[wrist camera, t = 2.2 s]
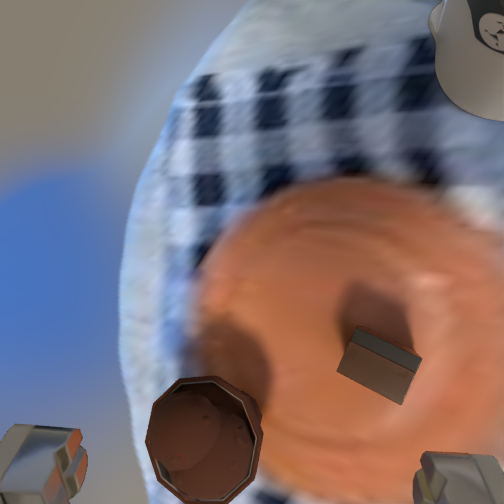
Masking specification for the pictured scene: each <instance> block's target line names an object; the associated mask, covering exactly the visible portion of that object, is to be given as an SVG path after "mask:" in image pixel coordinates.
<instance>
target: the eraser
mask: <svg viewBox="0 0 504 504" xmlns="http://www.w3.org/2000/svg"><path fill="white" fill-rule="evenodd" d="M421 361H422V358H421V357H420V356H419V355H418V354H417V353H416V352H415V351H414V350H412V349H410V348H408V347H406V346H404V345H402V344H400V343H397V342H395V341H393V340H391V339H389V338H387V337H385V336H383V335H381V334H378V333H376V332H374V331H372V330H370V329H368V328H366V327H364V326H361V327H357V328H356V329H355V331H354V333H353V335H352V338H351V341H350V342H349V344H348V346H347V349H346V351H345V353H344V355H343V357H342V360H341V362H340V364H339V366H338V369H337V372H338V373H340V374H342V375H344V376H346V377H348V378H350V379H352V380H354V381H355V382H357V383H359V384H361V385H363V386H365V387H367V388H369V389H371V390H373V391H375V392H377V393H378V394H380V395H382V396H384V397H386V398H388V399H390V400H392V401H394V402H396V403H398V404H399V405H402V403H403V401H404V399H405V396H406V394H407V392H408V390H409V388H410V385H411V383H412V381H413V379H414V376H415V374H416V372H417V370H418V368H419V365H420V363H421Z"/></svg>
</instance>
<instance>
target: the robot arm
mask: <svg viewBox="0 0 504 504" xmlns="http://www.w3.org/2000/svg"><path fill="white" fill-rule="evenodd" d="M429 27H430V30H431V33H432V35H433V37H434V39H435V42H436V53H435V70H436V75H437V78H438V81H439V83H440V86H441V87H442V89H443V91H444V92H445V94H446V95H447V96H448V97H449V98H450V99H451V100H452V101H453V102H454V103H455V104H456V105H457V106H459V107H460V108H462V109H463V110H465V111H467V112H469V113H471V114H473V115H475V116H478V117H481V118H485V119H490V120H496V121H504V0H443V1H442V2H440V3H439V4H438V5H437V6H436V7H435V8H434V9H433V10H432V12H431V14H430V18H429ZM82 438H83V437H82V434H81V431H80V429H75V428H63V427H51V426H38V425H28V424H14V425H13V426H12V427H11V428H10V429H9V430H8V431H7V433H6V434H5V435H4V437H3V438H2V440H1V442H0V504H70V502H69V500H70V499H71V498H73V497H74V496H75V495H76V494H77V493H78V492H80V489H81V487H82V484H83V482H84V479H85V475H86V470H87V466H88V465H87V462H88V456H87V452H86V449H84V448H83V447H82V446H81V445H80V443H81V441H82ZM420 462H421V465H422V468H421V469H420V470H418V471H417V472H415V476H414V479H413V499H414V504H504V473H503V471H502V468H501V466H500V464H499V462H498V460H497V459H496V458H495V457H494V456H492V455H482V454H468V453H456V452H436V451H425V452H424V453H423V454H422V456H421V459H420Z"/></svg>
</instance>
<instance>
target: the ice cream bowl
mask: <svg viewBox="0 0 504 504" xmlns="http://www.w3.org/2000/svg"><path fill="white" fill-rule="evenodd" d="M261 418H262V415H261V412H260V410H259V407H258V405H257V403H256V400H255V399H253V398H252V397H250V396H249V395H247V394H246V393H244V392H243V391H239V390H238V389H236V388H235V387H234V386H232V385H231V384H229V383H228V382H226V381H225V380H223V379H222V378H220V377H218V376H204V377H192V378H180V379H178V380H177V381H176V382H175V383H174V384H173V385H172V386H171V387H170V388H169V389H168V390H167V391H166V392H165V393H164V394H163V395H161V396H160V397H159V398H158V399H157V400H156V401H155V402H154V403H153V406H152V411H151V416H150V421H149V425H148V429H147V435H146V439H145V444H146V447H147V450H148V453H149V456H150V459H151V462H152V465H153V468H154V472H155V475H156V478H157V481H158V482H159V483H161V484H162V485H163V486H164V487H165V488H167V489H168V490H169V491H170V492H171V493H173V494H174V495H175V496H176V497H177V498H179V499H180V500H181V501H182V502H183V503H185V504H228V503H230V502H231V501H232V500H233V499H234V498H235V497H236V496H237V495H238V494H239V493H241V492H242V491H243V490H244V489H245V488H246V487H247V486H248V485H249V484H250V483H252V482H253V481H254V479H255V475H256V472H257V466H258V461H259V456H260V450H261V445H262V439H263V434H264V433H263V431H262V428H261V426H260V423H261Z"/></svg>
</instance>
